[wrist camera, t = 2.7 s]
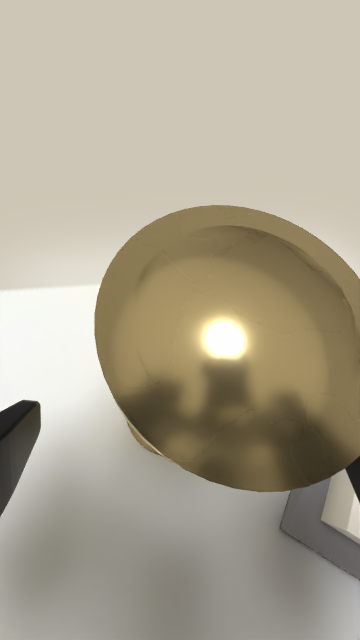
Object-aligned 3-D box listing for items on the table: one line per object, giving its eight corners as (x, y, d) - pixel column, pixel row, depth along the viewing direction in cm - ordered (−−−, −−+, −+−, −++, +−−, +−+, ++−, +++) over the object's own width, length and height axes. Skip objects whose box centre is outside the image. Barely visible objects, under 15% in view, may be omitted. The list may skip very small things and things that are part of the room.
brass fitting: (231, 428, 17) (452, 389, 5) (147, 475, 15) (183, 585, 3) (190, 349, 18) (282, 184, 7) (112, 383, 17) (53, 242, 5)
